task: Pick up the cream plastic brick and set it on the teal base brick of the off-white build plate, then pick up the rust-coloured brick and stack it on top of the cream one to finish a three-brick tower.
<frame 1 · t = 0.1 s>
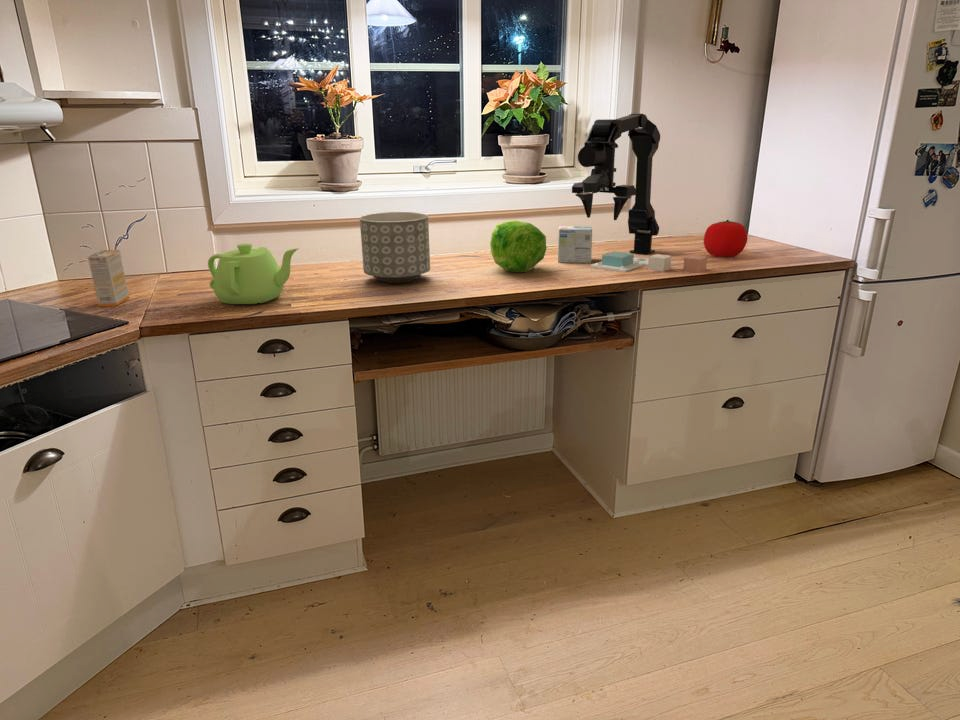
hand: (601, 218, 204), 15 cm above the worktop, fingers open, 9 cm apart
tomato: (723, 256, 222), on the worktop
lettuce: (515, 270, 206), on the worktop
build plate: (617, 266, 209), on the worktop
supplement box: (114, 303, 176), on the worktop
rust brick: (694, 270, 203), on the worktop
cream brick: (659, 269, 205), on the worktop
planter: (397, 280, 196), on the worktop
instruction sheet: (639, 261, 216), on the worktop
teapot: (257, 299, 178), on the worktop
light bulb box: (574, 261, 218), on the worktop
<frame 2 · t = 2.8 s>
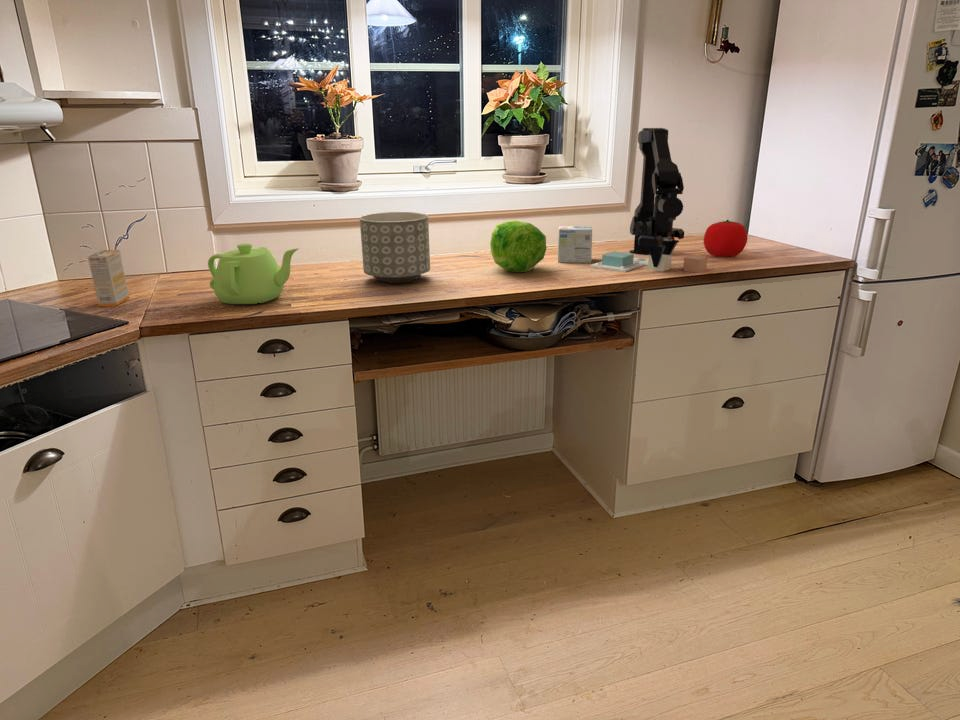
hand: (659, 265, 205), 1 cm above the worktop, fingers closed on cream brick, 5 cm apart
cream brick: (659, 269, 205), on the worktop, touching gripper
everything else where it was.
when the fingers open (6 cm above the worktop, at t = 6.1 s): cream brick stays where it is, resting on build plate.
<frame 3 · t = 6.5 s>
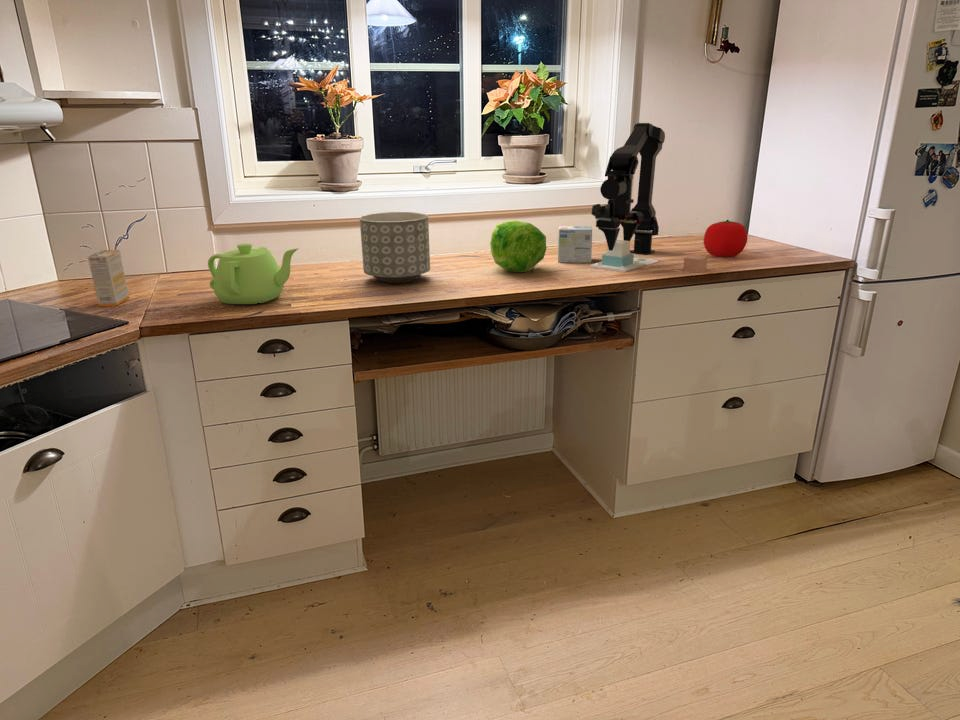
hand: (618, 248, 207), 6 cm above the worktop, fingers open, 9 cm apart
cream brick: (618, 254, 208), point 4 cm above the worktop, touching build plate
everything else where it was.
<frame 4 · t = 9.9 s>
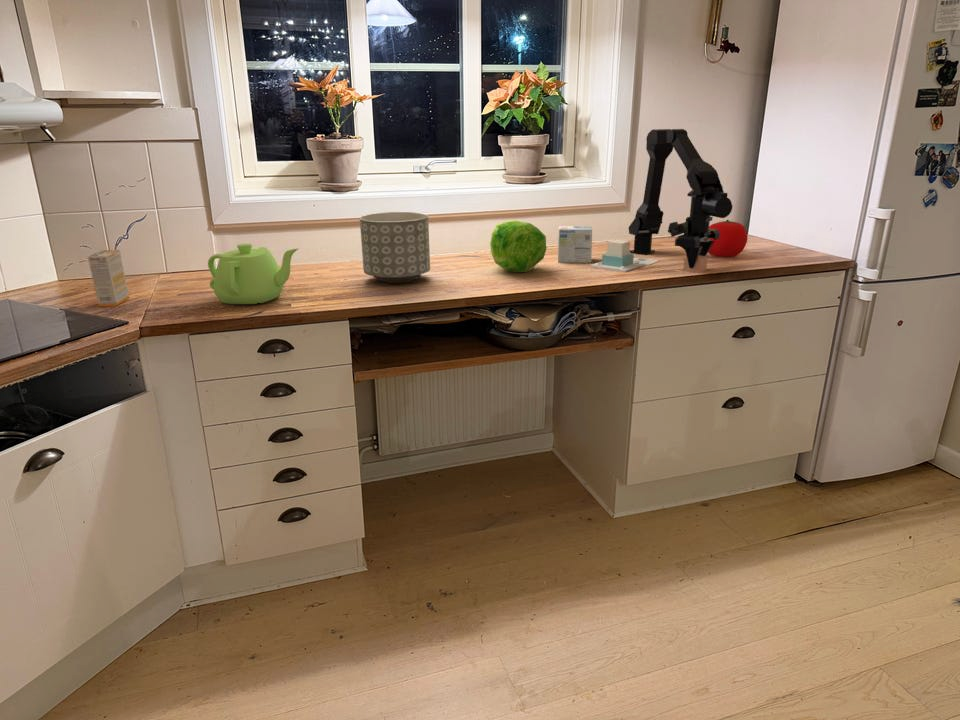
hand: (695, 266, 203), 1 cm above the worktop, fingers closed on rust brick, 5 cm apart
rust brick: (694, 270, 203), on the worktop, touching gripper
everything else where it was.
when the fingers open (10 cm above the worktop, at t = 13.7 s): rust brick drops 1 cm, resting on cream brick.
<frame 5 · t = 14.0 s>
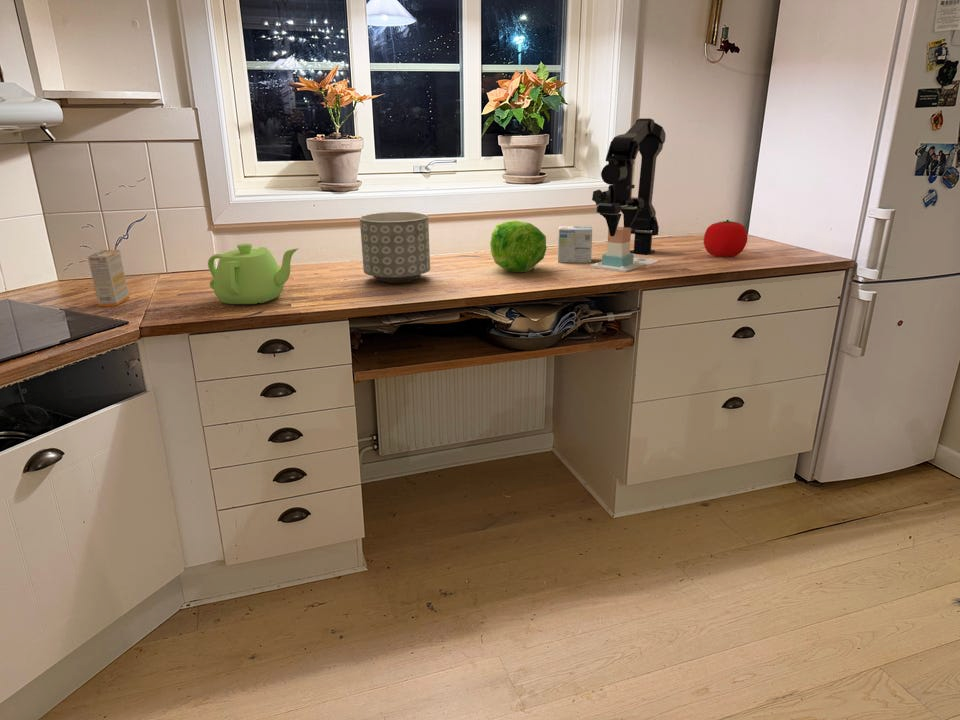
hand: (619, 234, 206), 10 cm above the worktop, fingers open, 8 cm apart
rust brick: (619, 241, 207), point 8 cm above the worktop, touching cream brick
cream brick: (618, 254, 208), point 4 cm above the worktop, touching build plate, rust brick
everything else where it was.
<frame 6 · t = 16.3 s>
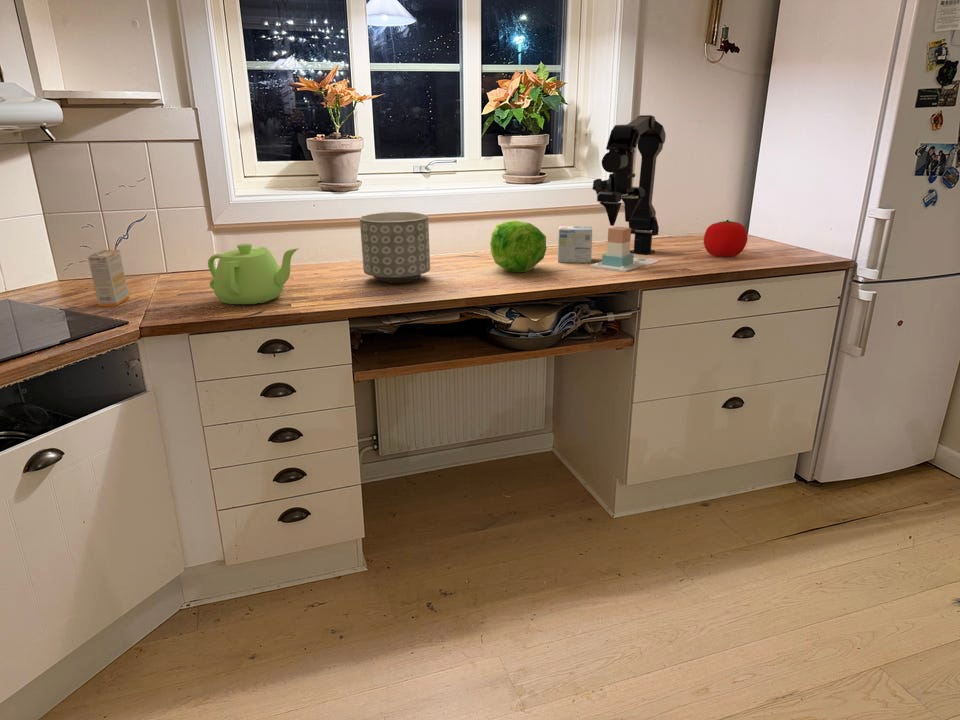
hand: (619, 223, 205), 13 cm above the worktop, fingers open, 9 cm apart
nothing on the worktop moved.
at the end: cream brick 0.0 cm off-centre on the build plate, point 3.6 cm above the build plate's base; rust brick 0.0 cm off-centre on the cream brick, point 4.0 cm above the cream brick's base; rust brick tilted 0° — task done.
